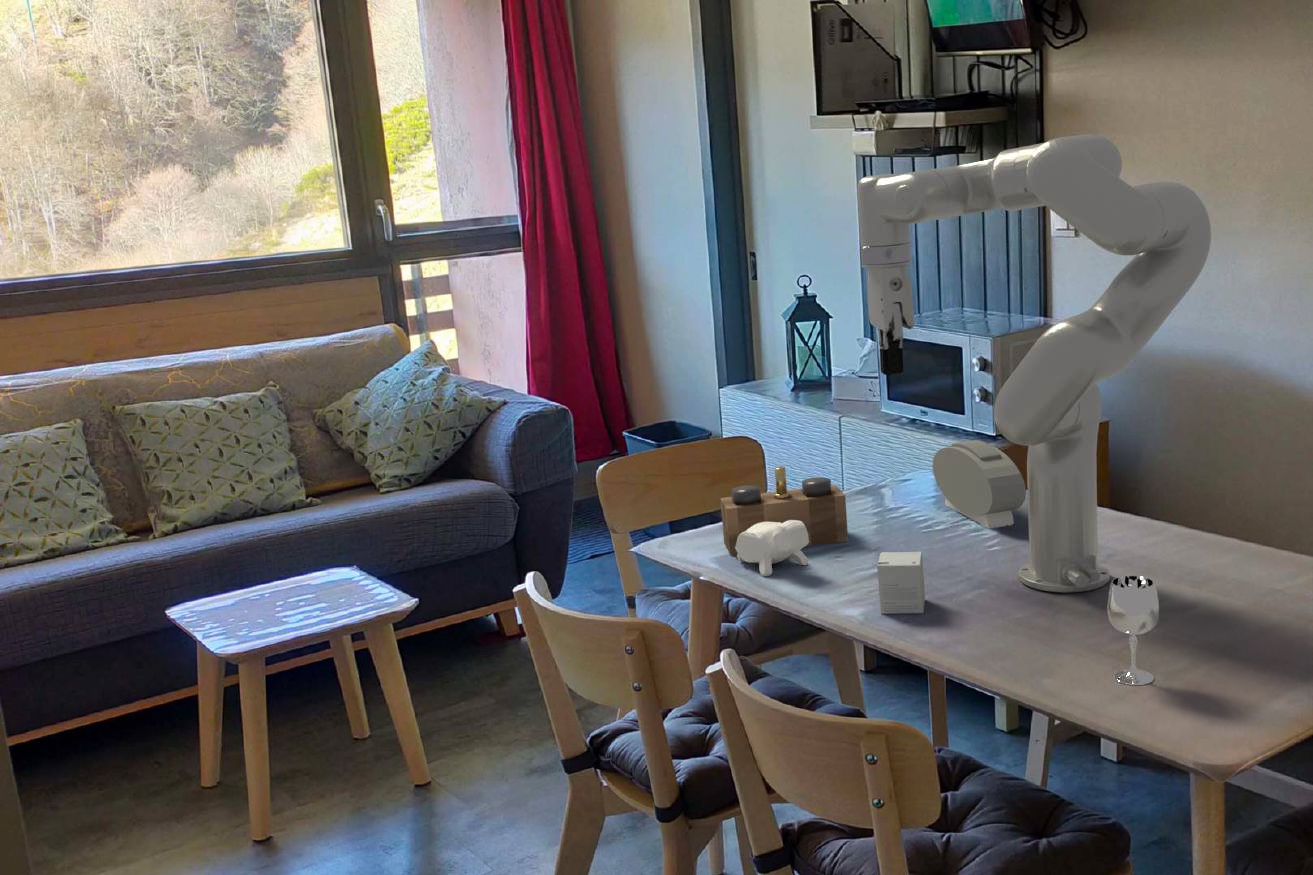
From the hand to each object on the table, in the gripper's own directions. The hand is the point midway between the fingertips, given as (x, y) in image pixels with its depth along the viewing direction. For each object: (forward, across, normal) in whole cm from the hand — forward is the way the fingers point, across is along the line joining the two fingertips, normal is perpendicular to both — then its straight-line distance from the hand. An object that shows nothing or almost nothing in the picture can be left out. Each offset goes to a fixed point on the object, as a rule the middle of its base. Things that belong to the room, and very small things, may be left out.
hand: (892, 372), depth 201 cm
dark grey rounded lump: (+28, +11, +23) cm, 38 cm away
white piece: (+29, -1, +21) cm, 36 cm away
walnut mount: (+29, +11, +17) cm, 35 cm away
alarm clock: (+29, +14, -18) cm, 37 cm away
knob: (+28, +11, +11) cm, 32 cm away
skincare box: (+29, -25, +7) cm, 39 cm away
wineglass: (+29, -57, -12) cm, 65 cm away
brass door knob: (+21, +11, +17) cm, 29 cm away
